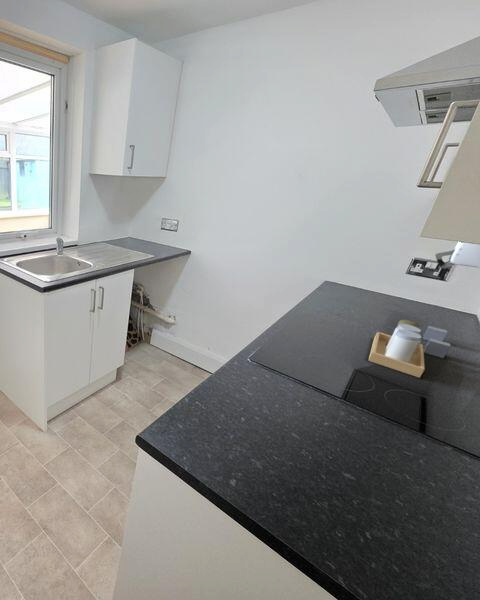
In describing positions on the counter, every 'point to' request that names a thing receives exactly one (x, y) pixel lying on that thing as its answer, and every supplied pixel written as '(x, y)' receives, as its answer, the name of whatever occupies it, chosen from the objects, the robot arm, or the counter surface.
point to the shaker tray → (412, 368)
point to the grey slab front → (436, 348)
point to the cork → (407, 324)
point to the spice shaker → (403, 327)
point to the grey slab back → (434, 333)
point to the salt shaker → (403, 345)
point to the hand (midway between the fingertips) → (461, 282)
